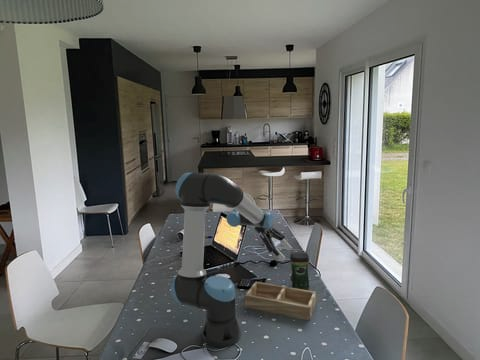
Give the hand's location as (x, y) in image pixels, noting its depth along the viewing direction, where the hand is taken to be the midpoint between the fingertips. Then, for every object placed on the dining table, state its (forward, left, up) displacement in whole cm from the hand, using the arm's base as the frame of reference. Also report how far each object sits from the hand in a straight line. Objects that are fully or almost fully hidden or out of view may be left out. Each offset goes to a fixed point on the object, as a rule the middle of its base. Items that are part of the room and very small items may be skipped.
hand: (287, 254), depth 181 cm
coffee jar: (-1, -7, -16) cm, 18 cm away
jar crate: (-21, -3, -16) cm, 27 cm away
